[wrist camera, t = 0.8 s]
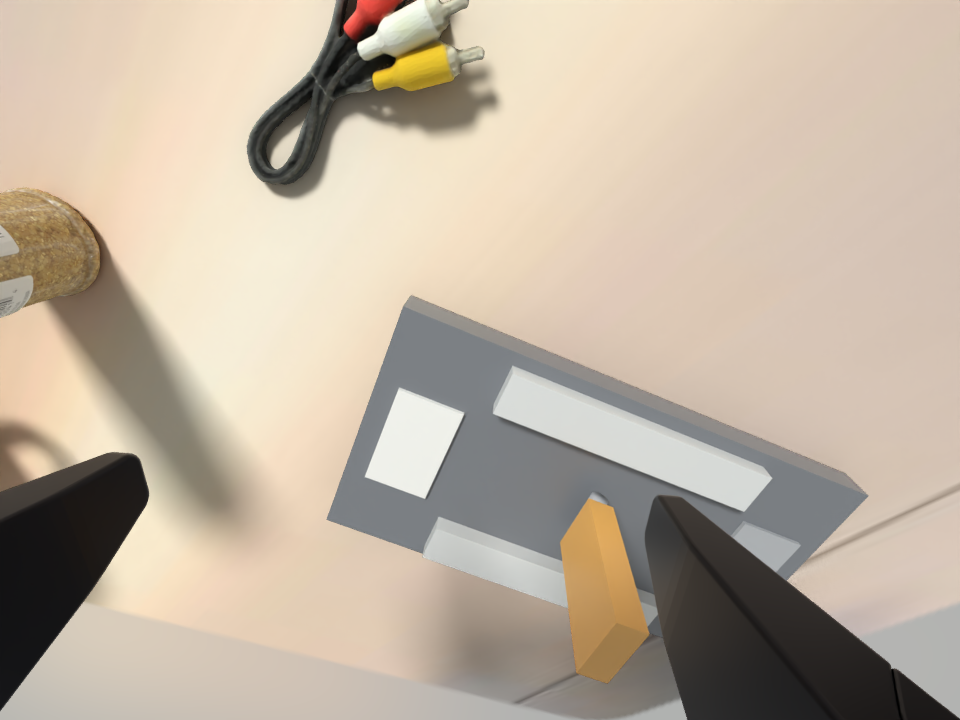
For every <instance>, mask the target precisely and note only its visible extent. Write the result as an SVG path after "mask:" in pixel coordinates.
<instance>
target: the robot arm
mask: <svg viewBox="0 0 960 720" xmlns="http://www.w3.org/2000/svg"><path fill="white" fill-rule="evenodd" d="M148 498H149V489H148V486H147V482H146V478H145V475H144V471H143V468H142V464H141V461H140V459H139V458H138V457H137V456H136V455H134V454H130V453H118V452H111V453H106V454H103V455H101V456H98V457H95V458H93V459H90V460H87V461H84V462H82V463H79V464H76V465H73V466H71V467H68V468H65V469H62V470H60V471H57V472H54V473H51V474H49V475H46V476H43V477H41V478H38V479H35V480H32V481H30V482H27V483H24V484H21V485H19V486H16V487H13V488H10V489H8V490H5V491H2V492H0V711H1V710H2V708H3V707H4V706H5V704H6V703H7V702H8V700H9V699H10V698H11V696H12V695H13V694H14V692H15V691H16V690H17V689H18V687H19V686H20V685H21V683H22V682H23V681H24V679H25V678H26V677H27V675H28V674H29V673H30V671H31V670H32V669H33V668H34V666H35V665H36V664H37V662H38V661H39V660H40V658H41V657H42V656H43V654H44V653H45V652H46V650H47V649H48V648H49V646H50V645H51V644H52V643H53V641H54V640H55V639H56V637H57V636H58V635H59V633H60V632H61V631H62V629H63V628H64V627H65V625H66V624H67V623H68V621H69V620H70V619H71V618H72V616H73V615H74V613H75V612H76V611H77V610H78V608H79V607H80V606H81V604H82V603H83V602H84V600H85V599H86V598H87V596H88V595H89V594H90V592H91V591H92V589H93V588H94V587H95V585H96V584H97V582H98V581H99V579H100V578H101V576H102V575H103V573H104V572H105V570H106V568H107V567H108V565H109V564H110V562H111V560H112V559H113V557H114V556H115V554H116V553H117V551H118V549H119V548H120V546H121V545H122V543H123V541H124V540H125V538H126V537H127V535H128V534H129V532H130V530H131V529H132V527H133V526H134V524H135V522H136V521H137V519H138V518H139V516H140V514H141V513H142V511H143V510H144V508H145V506H146V505H147V502H148ZM645 548H646V553H647V559H648V564H649V569H650V575H651V580H652V585H653V591H654V596H655V601H656V606H657V612H658V617H659V622H660V627H661V631H662V636H663V639H664V643H665V647H666V650H667V654H668V657H669V660H670V664H671V667H672V670H673V673H674V677H675V680H676V683H677V687H678V690H679V693H680V697H681V700H682V703H683V706H684V710H685V713H686V717H687V720H960V719H959V718H958V717H957V716H956V715H954V714H953V713H952V712H950V711H949V710H948V709H947V708H945V707H944V706H943V705H942V704H940V703H939V702H938V701H937V700H935V699H934V698H933V697H931V696H930V695H929V694H928V693H926V692H925V691H924V690H923V689H921V688H920V687H919V686H918V685H916V684H915V683H914V682H913V681H911V680H910V679H909V678H907V677H906V676H905V675H904V674H902V673H901V672H900V671H899V670H897V669H891V665H890V664H889V663H888V662H887V661H886V660H885V659H883V658H882V657H881V656H880V655H879V654H877V653H876V652H875V651H874V650H872V649H871V648H870V647H869V646H867V645H866V644H865V643H864V642H862V641H861V640H860V639H859V638H857V637H856V636H855V635H854V634H852V633H851V632H850V631H849V630H847V629H846V628H845V627H844V626H842V625H841V624H840V623H839V622H837V621H836V620H835V619H834V618H832V617H831V616H830V615H829V614H827V613H826V612H825V611H824V610H822V609H821V608H820V607H819V606H817V605H816V604H815V603H814V602H812V601H811V600H810V599H809V598H807V597H806V596H805V595H804V594H802V593H801V592H800V591H799V590H797V589H796V588H795V587H794V586H792V585H791V584H790V583H789V582H787V581H786V580H785V579H784V578H782V577H781V576H780V575H779V574H777V573H776V572H775V571H774V570H772V569H771V568H770V567H769V566H767V565H766V564H765V563H764V562H762V561H761V560H760V559H759V558H757V557H756V556H755V555H754V554H752V553H751V552H750V551H749V550H747V549H746V548H745V547H744V546H742V545H741V544H740V543H739V542H737V541H736V540H735V539H734V538H732V537H731V536H730V535H729V534H727V533H726V532H725V531H724V530H723V529H721V528H720V527H719V526H718V525H716V524H715V523H714V522H713V521H711V520H710V519H709V518H708V517H706V516H705V515H704V514H703V513H701V512H700V511H699V510H698V509H696V508H695V507H694V506H693V505H691V504H690V503H689V502H688V501H686V500H685V499H684V498H682V497H680V496H674V495H661V494H660V495H657V496H655V498H654V499H653V502H652V506H651V510H650V514H649V517H648V521H647V525H646V529H645Z"/></svg>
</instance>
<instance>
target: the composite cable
mask: <svg viewBox="0 0 960 720" xmlns="http://www.w3.org/2000/svg"><path fill="white" fill-rule="evenodd" d="M405 1H406V0H357V8H356V10H355V12H354V13H353V14H352V16H351V17H350V18H349V19H348V20H347V21H346V23H345V24H344V34H343V36H342V37H340V35H341V31H342V27H343V22H344V18H345V13H346V8H347V4H348V0H336V4H335V8H334V14H333V18H332V23H331V26H330V29H329V32H328V35H327V38H326V40H325V42H324V45H323V48H322V50H321V52H320V54H319V56H318V58H317V60H316V61H315V63H314V64H313V66H312V67H311V70H310V71H309V72H308V73H307V74H306V76H304V77H303V79H302V80H301V81H300V82H299V83H298V84H296V85H295V86H294V87H293V88H292V89H291V90H290V91H289V92H287V94H285V95H284V96H283V97H282V98H280V99H279V100H278V101H277V102H276V103H275V104H274V105H272V106H271V107H270V108H269V109H268V110H267V111H266V112H265V113H264V114H263V115H262V116H261V117H260V119H259V120H258V121H257V122H256V124H255V125H254V127H253V129H252V131H251V133H250V135H249V139H248V145H247V154H248V159H249V163H250V166H251V168H252V170H253V172H254V173H255V175H256V176H257V177H258V178H259V179H260V180H261V181H263V182H268V183H271V184H278V183H280V184H285V185H286V184H290V183H293V182H294V181H296V180H297V179H298V178H300V177H301V176H302V175H303V174H304V173H305V172H306V171H307V169H308V167H309V166H310V164H311V163H312V161H313V159H314V156H315V153H316V151H317V148H318V144H319V141H320V138H321V135H322V131H323V128H324V126H325V122H326V119H327V116H328V114H329V111H330V109H331V106H332V103H333V101H334V100H335V99H337V98H339V97H341V96H344V95H347V94H350V93H359V92H366V91H369V90H370V89H372V88H375V89H376V90H378V91H380V90H384V89H387V88H391V87H395V86H397V87H400V88H403V89H405V90H407V91H414V90H418V89H422V88H426V87H430V86H434V85H438V84H442V83H446V82H451V81H453V80H454V77H456V76H457V75H458V74H459V73H460V72H461V66H462V65H463V64H465V63H470V62H473V61H476V60H482V59H483V57H484V50H483V48H482V47H481V46H476V47H472V48H469V49H465V50H458V49H456V48H454V47H453V46H451V45H447V44H445V43H443V42H442V41H441V40H440V39H439V37H440V35H441V33H442V31H443V30H445V29H446V28H447V26H448V25H449V24H450V21H449V16H450V15H452V14H454V13H456V12H458V11H460V10H462V9H465V8H467V7H468V4H469V0H450V1H448V2H445V3H442V2H441V1H440V0H416V1H415V2H413V3H411V4H409V5H407V6H405V7H404V8H403V6H404V3H405ZM311 98H312V101H311V107H310V109H309V111H308V113H307V115H306V118H305V121H304V123H303V126H302V128H301V131H300V134H299V137H298V140H297V142H296V144H295V147H294V150H293V152H292V154H291V156H290V157H289V159H288V161H287V162H286V163H285V165H284V166H283V167H282V168H280V169H278V170H276V169H274V168H273V167H272V166H271V165H270V163H269V162H268V160H267V157H266V145H267V142H268V140H269V137H270V135H271V134H272V132H273V131H274V130H275V128H276V127H278V126H279V125H280V124H281V123H282V122H283V120H284V119H285V118H286V117H288V116H289V115H290V114H291V113H292V112H294V111H295V110H297V109H298V108H299V107H300V106H301V105H302V104H303V103H306V102H307V101H308V100H309V99H311Z"/></svg>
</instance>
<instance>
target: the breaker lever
mask: <svg viewBox="0 0 960 720" xmlns="http://www.w3.org/2000/svg"><path fill="white" fill-rule="evenodd" d="M607 504H608V500H607V498H606V497H605V496H604V495H602V494H601V493H599V492H592V494H591V495H590V497H589V498H588V500H587V501H586V503H585V504H584V506H583V507H582V509H581V510H580V512H579V514H578V515H577V517H576V518H575V520H574V521H573V523H572V524H571V526H570V527H569V529H568V530H567V532H566V534H565V535H564V537H563V538H562V540H561V541H560V546H561V554H562V562H563V570H564V578H565V586H566V594H567V602H568V610H569V618H570V626H571V634H572V642H573V650H574V658H575V666H576V673H577V674H580V675H583V676H586V677H589V678H592V679H595V680H598V681H601V682H604V683H607V684H608V683H609V682H610V680H611V679H612V678H613V677H614V676H615V675H616V673H617V672H618V671H619V670H620V669H621V667H622V666H623V665H624V664H625V663H626V662H627V660H628V659H629V658H630V657H631V656H632V655H633V653H634V652H635V651H636V650H637V649H638V648H639V646H640V645H641V644H642V643H643V642H644V641H645V639H646V638H647V637H648V636H649V635H650V634H649V631H648V627H647V624H646V620H645V617H644V613H643V610H642V606H641V603H640V599H639V596H638V592H637V589H636V585H635V582H634V578H633V575H632V571H631V568H630V564H629V561H628V557H627V554H626V550H625V547H624V543H623V540H622V536H621V533H620V529H619V526H618V522H617V519H616V515H615V512H614V508H613V507H611V506H608V505H607Z"/></svg>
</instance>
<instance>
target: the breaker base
mask: <svg viewBox="0 0 960 720" xmlns="http://www.w3.org/2000/svg"><path fill="white" fill-rule="evenodd" d="M592 492H599V493H601V494H602V495H604V496H605V497H606V498H607V500H608V504H607V505H608V506H611V507H613V508H614V512H615V515H616V519H617V522H618V526H619V529H620V533H621V536H622V540H623V543H624V547H625V550H626V554H627V557H628V561H629V564H630V568H631V571H632V575H633V578H634V582H635V585H636V589H637V592H638V596H639V599H640V603H641V606H642V610H643V613H644V617H645V620H646V624H647V627H648V631H649V633H650V634H653V635H656V636H659V637H661V638H663V636H662V631H661V627H660V622H659V617H658V612H657V606H656V601H655V596H654V591H653V585H652V580H651V575H650V569H649V564H648V559H647V553H646V548H645V529H646V525H647V521H648V517H649V514H650V510H651V506H652V502H653V499H654V498H655V496H657V495H660V494H661V495H674V496H680V497H682V498H684V499H685V500H686V501H688V502H689V503H690V504H691V505H693V506H694V507H695V508H696V509H698V510H699V511H700V512H701V513H703V514H704V515H705V516H706V517H708V518H709V519H710V520H711V521H713V522H714V523H715V524H716V525H718V526H719V527H720V528H721V529H723V530H724V531H725V532H726V533H727V534H729V535H730V536H731V537H732V538H734V539H735V540H736V541H737V542H739V543H740V544H741V545H742V546H744V547H745V548H746V549H747V550H749V551H750V552H751V553H752V554H754V555H755V556H756V557H757V558H759V559H760V560H761V561H762V562H764V563H765V564H766V565H767V566H769V567H770V568H771V569H772V570H774V571H775V572H776V573H777V574H779V575H780V576H781V577H782V578H784V579H785V580H786V581H787V580H788V579H789V578H790V576H791V575H792V574H793V573H794V572H795V571H796V570H797V569H798V568H799V567H800V566H801V565H802V564H803V563H804V562H805V561H806V560H807V559H808V558H809V557H810V556H811V555H812V554H813V553H814V552H815V551H816V550H817V549H818V548H819V547H820V546H821V544H822V543H823V542H824V541H825V540H826V539H827V538H828V537H829V536H830V535H831V534H832V533H833V532H834V531H835V530H836V529H837V528H838V527H839V526H840V525H841V524H842V523H843V522H844V521H845V520H846V519H847V518H848V517H849V516H850V515H851V513H852V512H853V511H854V510H855V509H856V508H857V507H858V506H859V505H860V504H861V503H862V502H863V501H864V500H865V499H866V498H867V497H868V495H867V494H866V493H865V492H864V491H863V490H862V489H861V488H860V487H859V486H858V485H857V484H856V483H855V482H854V481H853V480H852V479H851V478H850V477H849V476H848V475H847V474H846V473H843V472H841V471H838V470H836V469H833V468H831V467H828V466H826V465H824V464H821V463H819V462H816V461H814V460H811V459H809V458H807V457H804V456H802V455H799V454H797V453H794V452H792V451H789V450H787V449H785V448H782V447H780V446H777V445H775V444H772V443H770V442H768V441H765V440H763V439H760V438H758V437H755V436H753V435H751V434H748V433H746V432H743V431H741V430H738V429H736V428H733V427H731V426H729V425H726V424H724V423H721V422H719V421H716V420H714V419H712V418H709V417H707V416H704V415H702V414H699V413H697V412H694V411H692V410H690V409H687V408H685V407H682V406H680V405H677V404H675V403H673V402H670V401H668V400H665V399H663V398H660V397H658V396H656V395H653V394H651V393H648V392H646V391H643V390H641V389H638V388H636V387H634V386H631V385H629V384H626V383H624V382H621V381H619V380H617V379H614V378H612V377H609V376H607V375H604V374H602V373H599V372H597V371H595V370H592V369H590V368H587V367H585V366H582V365H580V364H578V363H575V362H573V361H570V360H568V359H565V358H563V357H561V356H558V355H556V354H553V353H551V352H548V351H546V350H543V349H541V348H539V347H536V346H534V345H531V344H529V343H526V342H524V341H522V340H519V339H517V338H514V337H512V336H509V335H507V334H504V333H502V332H500V331H497V330H495V329H492V328H490V327H487V326H485V325H483V324H480V323H478V322H475V321H473V320H470V319H468V318H466V317H463V316H461V315H458V314H456V313H453V312H451V311H448V310H446V309H444V308H441V307H439V306H436V305H434V304H431V303H429V302H427V301H424V300H422V299H419V298H417V297H414V296H412V295H411V296H410V297H409V299H408V300H407V302H406V303H405V305H404V306H403V308H402V311H401V314H400V317H399V320H398V322H397V325H396V328H395V331H394V333H393V336H392V339H391V342H390V345H389V347H388V350H387V353H386V356H385V358H384V361H383V364H382V367H381V370H380V372H379V375H378V378H377V381H376V384H375V386H374V389H373V392H372V395H371V397H370V400H369V403H368V406H367V409H366V411H365V414H364V417H363V420H362V422H361V425H360V428H359V431H358V434H357V436H356V439H355V442H354V445H353V447H352V450H351V453H350V456H349V459H348V461H347V464H346V467H345V470H344V472H343V475H342V478H341V481H340V484H339V486H338V489H337V492H336V495H335V497H334V500H333V503H332V506H331V509H330V511H329V514H328V517H327V520H329V521H332V522H335V523H337V524H340V525H343V526H346V527H349V528H352V529H354V530H357V531H360V532H363V533H366V534H369V535H372V536H374V537H377V538H380V539H383V540H386V541H389V542H391V543H394V544H397V545H400V546H403V547H406V548H408V549H411V550H414V551H417V552H420V553H423V556H422V557H423V558H426V559H429V560H432V561H434V562H437V563H440V564H443V565H446V566H449V567H451V568H454V569H457V570H460V571H463V572H466V573H469V574H471V575H474V576H477V577H480V578H483V579H486V580H489V581H491V582H494V583H497V584H500V585H503V586H506V587H508V588H511V589H514V590H517V591H520V592H523V593H526V594H528V595H531V596H534V597H537V598H540V599H543V600H545V601H548V602H551V603H554V604H557V605H560V606H563V607H565V608H568V602H567V594H566V586H565V578H564V570H563V562H562V554H561V546H560V541H561V540H562V538H563V537H564V535H565V534H566V532H567V530H568V529H569V527H570V526H571V524H572V523H573V521H574V520H575V518H576V517H577V515H578V514H579V512H580V510H581V509H582V507H583V506H584V504H585V503H586V501H587V500H588V498H589V497H590V495H591V494H592Z"/></svg>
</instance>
